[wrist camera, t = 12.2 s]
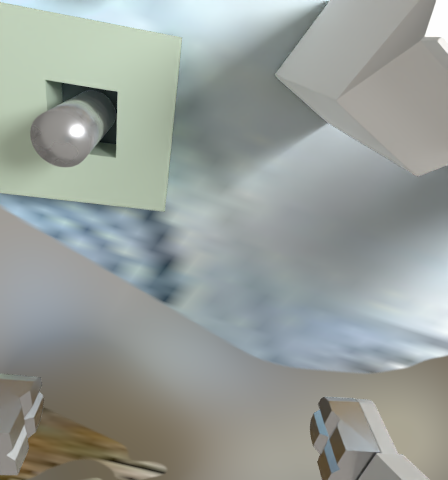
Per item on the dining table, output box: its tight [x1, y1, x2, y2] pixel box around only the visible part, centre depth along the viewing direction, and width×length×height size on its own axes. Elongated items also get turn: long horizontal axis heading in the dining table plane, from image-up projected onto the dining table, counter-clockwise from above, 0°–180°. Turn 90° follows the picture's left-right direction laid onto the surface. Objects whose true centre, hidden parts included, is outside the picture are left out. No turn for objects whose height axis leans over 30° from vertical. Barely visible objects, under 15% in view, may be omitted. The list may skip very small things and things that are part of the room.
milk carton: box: [275, 0, 448, 177], centre depth 23 cm, size 7×7×19 cm
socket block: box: [0, 2, 182, 212], centre depth 30 cm, size 14×14×4 cm
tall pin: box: [30, 90, 116, 167], centre depth 27 cm, size 4×4×10 cm
